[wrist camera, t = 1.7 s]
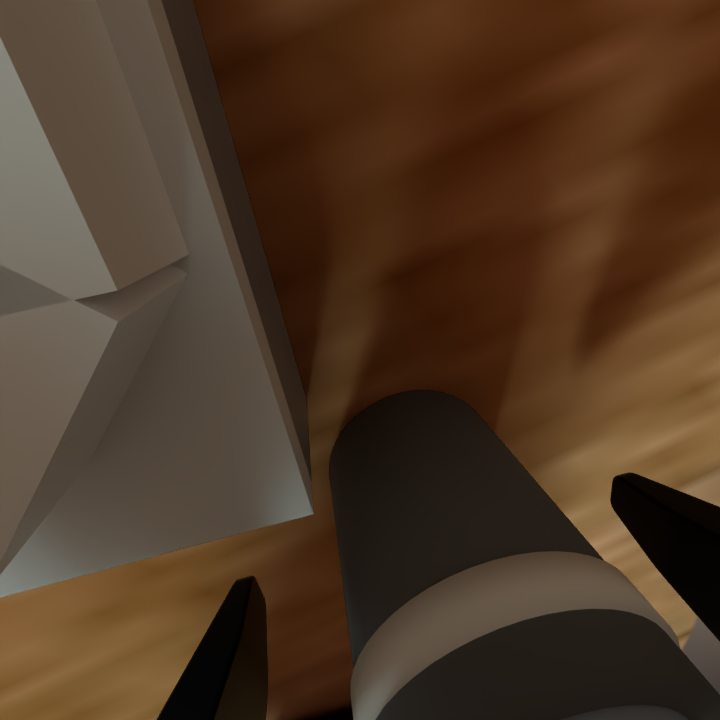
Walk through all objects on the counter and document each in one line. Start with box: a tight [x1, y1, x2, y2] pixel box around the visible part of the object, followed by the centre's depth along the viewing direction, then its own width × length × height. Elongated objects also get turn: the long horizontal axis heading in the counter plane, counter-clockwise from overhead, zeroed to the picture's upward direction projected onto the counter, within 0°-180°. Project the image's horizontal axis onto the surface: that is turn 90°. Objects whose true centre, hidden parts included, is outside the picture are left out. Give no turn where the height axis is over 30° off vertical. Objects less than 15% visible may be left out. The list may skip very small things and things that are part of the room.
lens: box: [329, 390, 720, 720], centre depth 8 cm, size 5×5×7 cm
